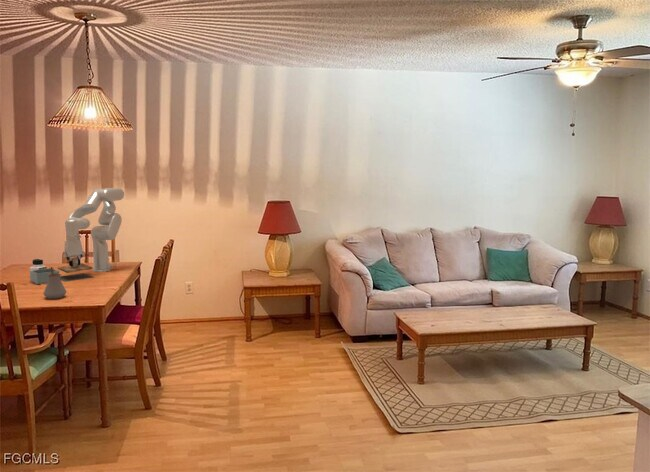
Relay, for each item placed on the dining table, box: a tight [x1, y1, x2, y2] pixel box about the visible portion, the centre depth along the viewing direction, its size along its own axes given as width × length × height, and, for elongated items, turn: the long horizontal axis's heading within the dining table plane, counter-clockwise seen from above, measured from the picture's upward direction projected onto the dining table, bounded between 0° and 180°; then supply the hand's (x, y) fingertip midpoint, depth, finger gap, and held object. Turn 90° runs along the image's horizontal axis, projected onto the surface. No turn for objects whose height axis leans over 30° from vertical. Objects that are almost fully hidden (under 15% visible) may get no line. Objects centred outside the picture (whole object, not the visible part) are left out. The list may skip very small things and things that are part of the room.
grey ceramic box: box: [29, 267, 60, 286], centre depth 335 cm, size 13×13×7 cm
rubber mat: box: [60, 273, 96, 282], centre depth 349 cm, size 19×19×1 cm
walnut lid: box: [57, 257, 94, 274], centre depth 348 cm, size 16×16×7 cm
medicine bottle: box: [29, 258, 48, 272], centre depth 349 cm, size 7×7×12 cm
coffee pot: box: [43, 266, 67, 300], centre depth 300 cm, size 21×12×15 cm, turn 32°
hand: (74, 265), depth 349 cm, fingers closed on walnut lid, 4 cm apart
